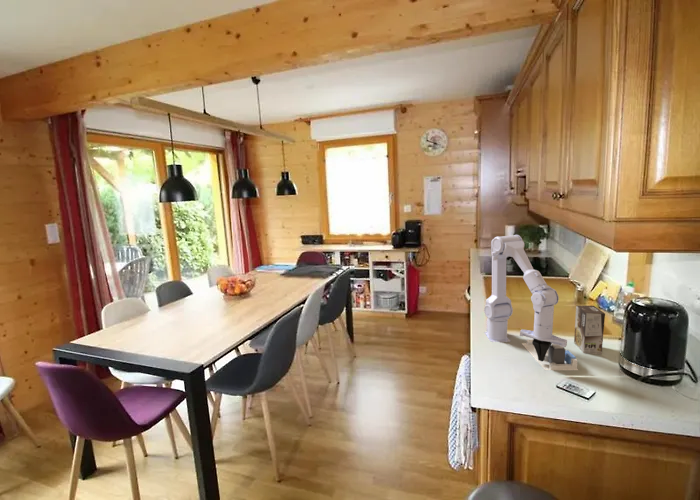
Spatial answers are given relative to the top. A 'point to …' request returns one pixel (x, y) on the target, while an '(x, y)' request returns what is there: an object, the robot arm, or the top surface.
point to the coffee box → (589, 329)
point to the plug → (556, 354)
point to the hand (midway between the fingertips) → (541, 359)
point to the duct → (568, 365)
